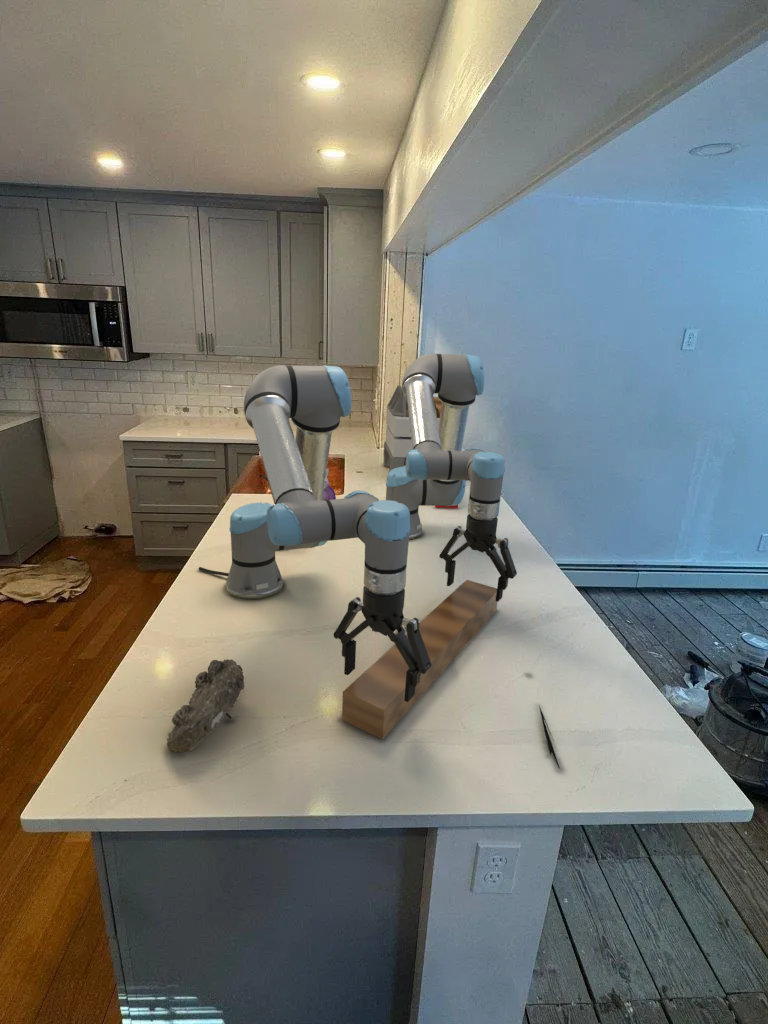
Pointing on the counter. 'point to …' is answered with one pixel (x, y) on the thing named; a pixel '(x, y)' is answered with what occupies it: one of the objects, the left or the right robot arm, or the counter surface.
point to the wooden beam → (382, 686)
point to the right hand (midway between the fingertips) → (473, 591)
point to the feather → (548, 737)
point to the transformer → (400, 429)
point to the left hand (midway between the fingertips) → (378, 684)
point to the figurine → (328, 490)
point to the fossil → (206, 705)
